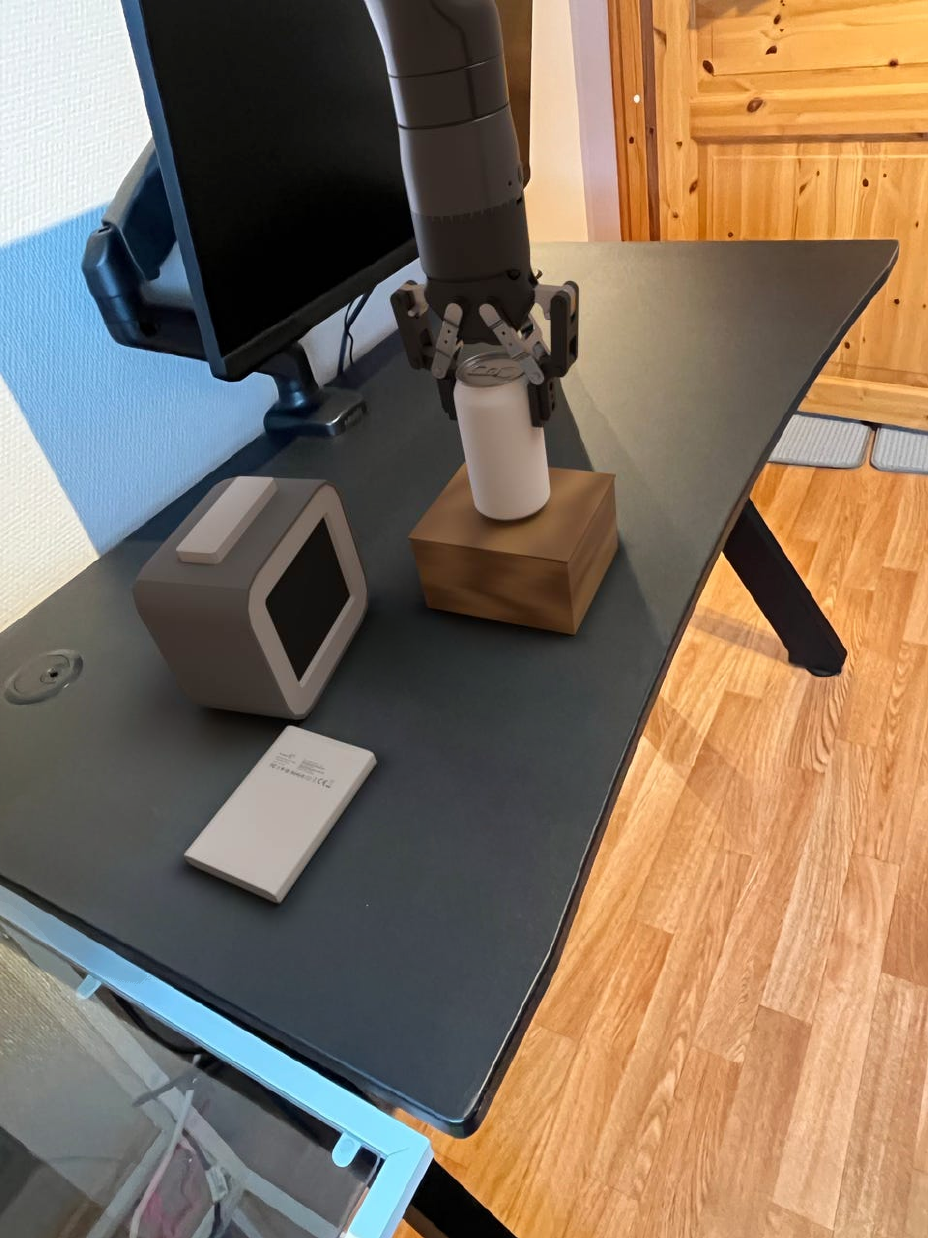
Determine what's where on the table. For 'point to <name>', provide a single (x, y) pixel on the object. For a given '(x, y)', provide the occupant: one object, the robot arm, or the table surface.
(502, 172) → the robot arm
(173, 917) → the table surface
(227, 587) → the alarm clock
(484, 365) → the can
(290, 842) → the hard drive
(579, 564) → the wooden block
